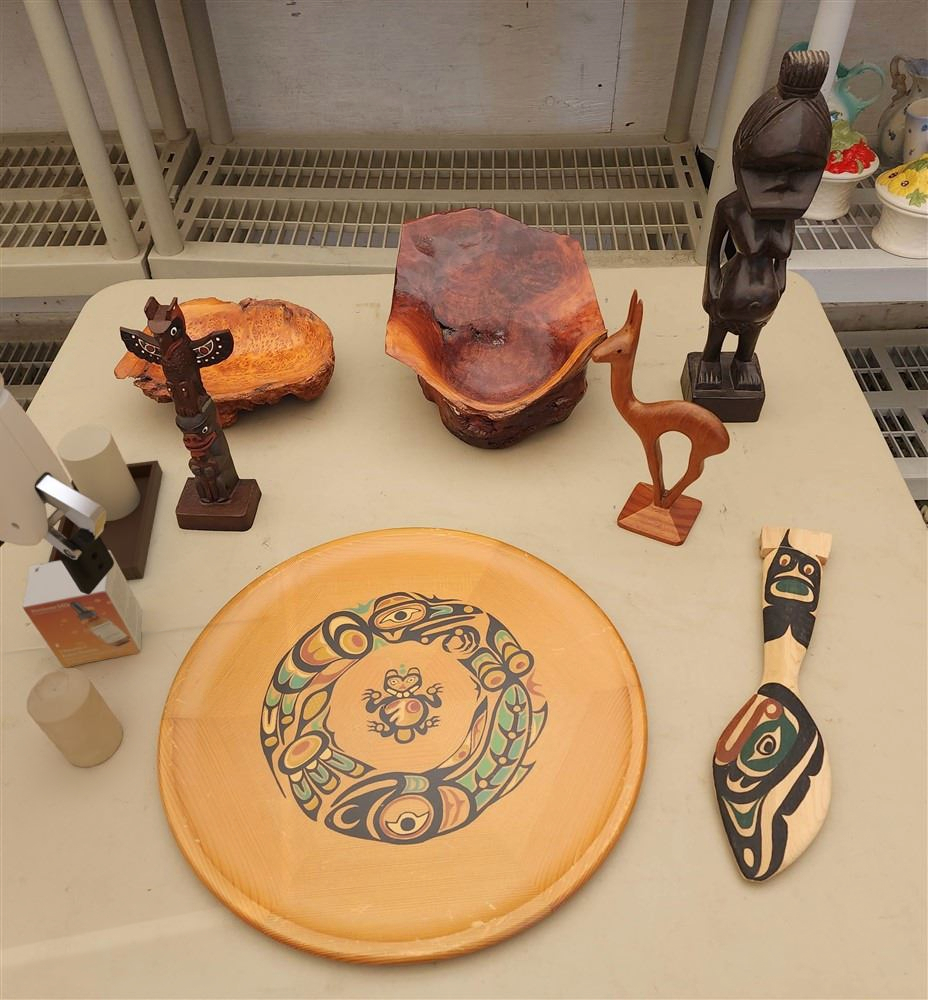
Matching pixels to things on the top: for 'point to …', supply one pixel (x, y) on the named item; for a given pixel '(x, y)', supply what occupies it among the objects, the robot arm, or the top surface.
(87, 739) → the candle
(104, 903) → the top surface
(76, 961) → the top surface
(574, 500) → the top surface
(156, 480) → the tray
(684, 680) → the top surface
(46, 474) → the robot arm
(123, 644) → the small box
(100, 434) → the pillar
